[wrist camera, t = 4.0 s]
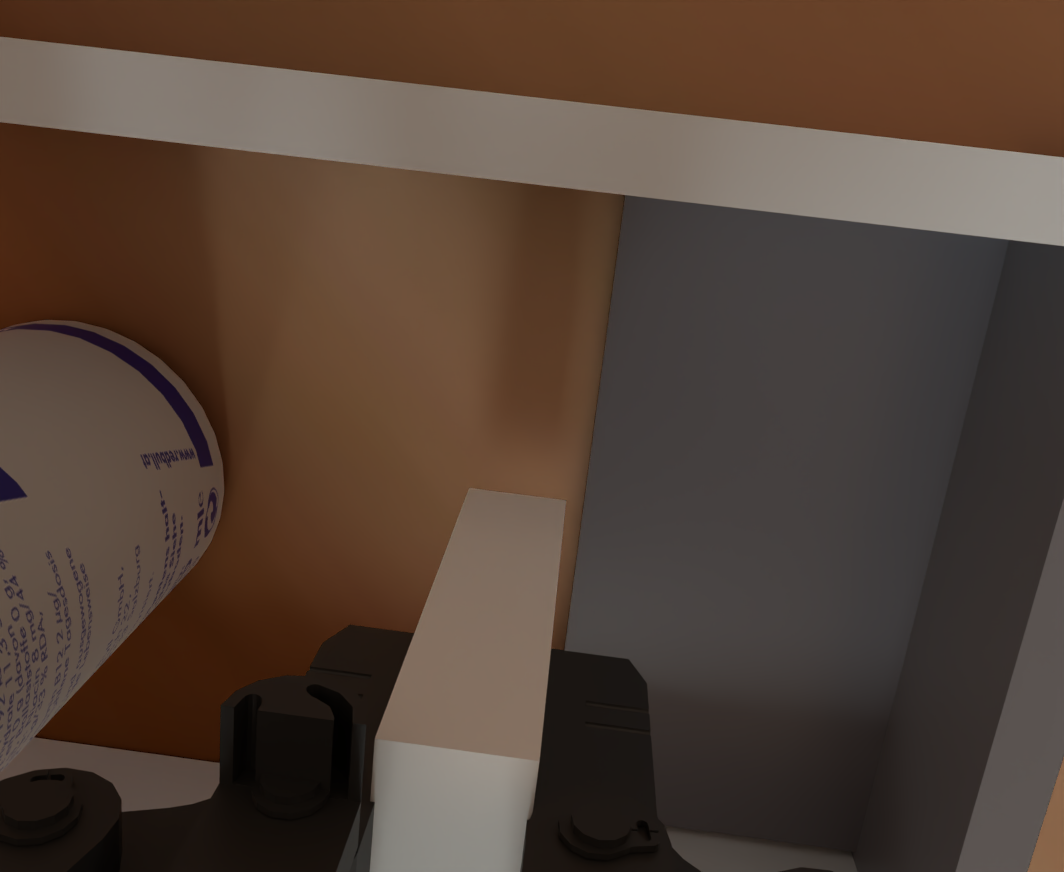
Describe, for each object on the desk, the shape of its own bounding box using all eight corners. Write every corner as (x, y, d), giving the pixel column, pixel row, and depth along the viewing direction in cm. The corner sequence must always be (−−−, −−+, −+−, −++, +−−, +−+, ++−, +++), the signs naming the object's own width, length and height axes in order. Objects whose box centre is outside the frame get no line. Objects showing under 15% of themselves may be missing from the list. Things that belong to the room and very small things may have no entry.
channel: (1087, 165, 15) (1245, 178, 12) (890, 899, 20) (959, 1085, 16) (-347, 2, 16) (-641, -37, 12) (-239, 741, 20) (-434, 882, 17)
